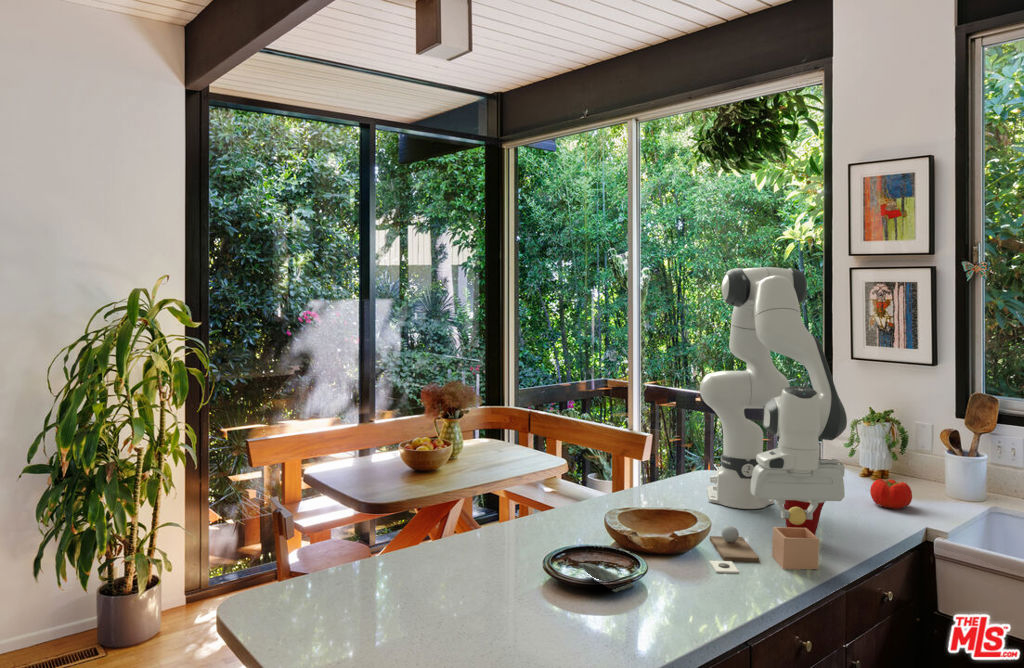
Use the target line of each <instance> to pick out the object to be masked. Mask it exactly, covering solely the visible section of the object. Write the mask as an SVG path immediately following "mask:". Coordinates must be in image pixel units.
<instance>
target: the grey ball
mask: <svg viewBox="0 0 1024 668" xmlns="http://www.w3.org/2000/svg"><path fill="white" fill-rule="evenodd" d="M721 536H722V537H723V539H724V540H725V541H727V542H730V543H732V542H735V541H736V540H737V539H738V537H740V533H739V530H738V528H737V527H736V526H733V525H726V526H724V527H723V528H722V529H721Z"/></svg>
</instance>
